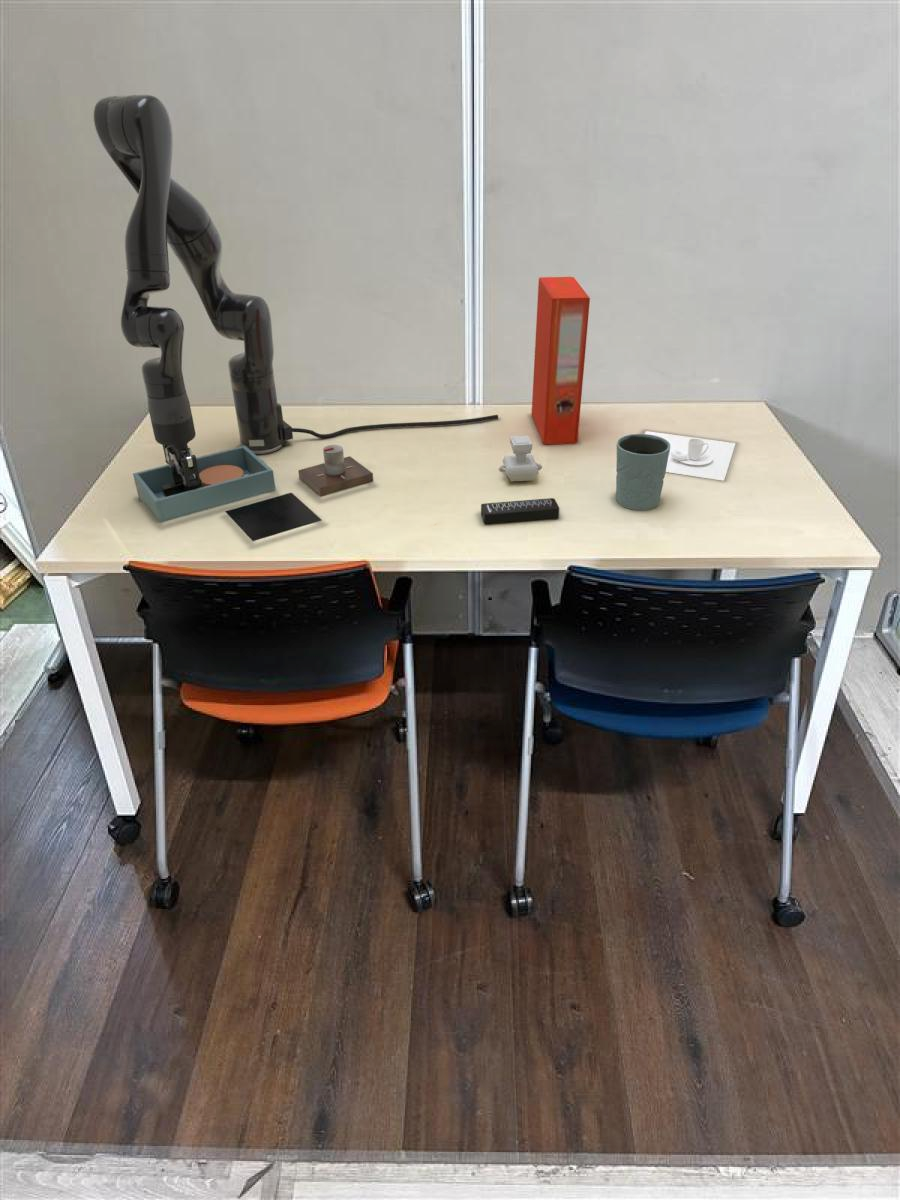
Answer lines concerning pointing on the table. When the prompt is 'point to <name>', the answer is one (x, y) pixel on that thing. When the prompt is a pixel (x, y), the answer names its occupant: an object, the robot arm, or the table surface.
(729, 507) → the table surface
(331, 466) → the tap dial
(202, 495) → the basin
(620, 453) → the green cup
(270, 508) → the plate
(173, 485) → the pan
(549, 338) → the file binder
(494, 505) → the multiport hub
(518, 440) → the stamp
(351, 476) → the rotary knob panel
